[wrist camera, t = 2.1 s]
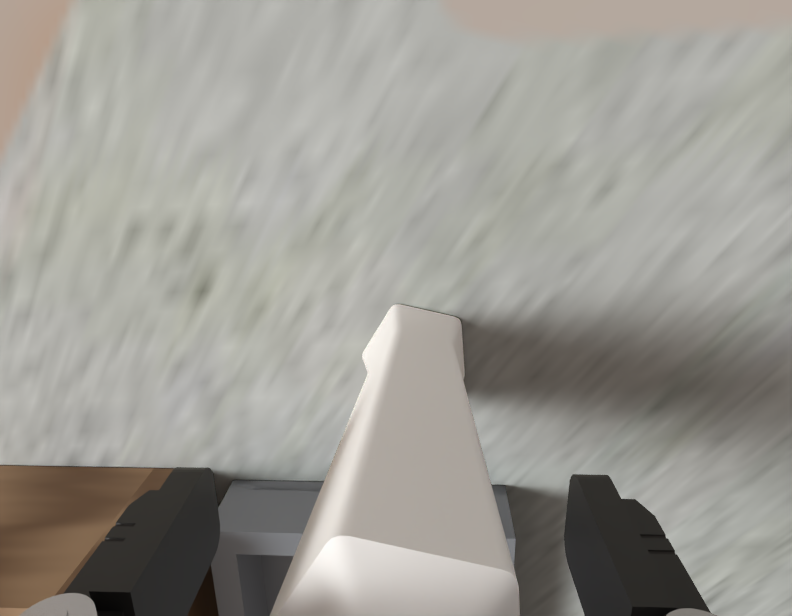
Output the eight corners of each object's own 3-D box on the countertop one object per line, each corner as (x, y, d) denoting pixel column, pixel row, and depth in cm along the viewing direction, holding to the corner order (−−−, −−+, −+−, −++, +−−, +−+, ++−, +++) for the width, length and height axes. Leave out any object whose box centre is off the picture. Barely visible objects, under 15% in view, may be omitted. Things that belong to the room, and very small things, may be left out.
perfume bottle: (344, 395, 22) (179, 925, 8) (366, 288, 20) (214, 695, 6) (461, 421, 22) (516, 996, 8) (491, 316, 20) (630, 783, 6)
